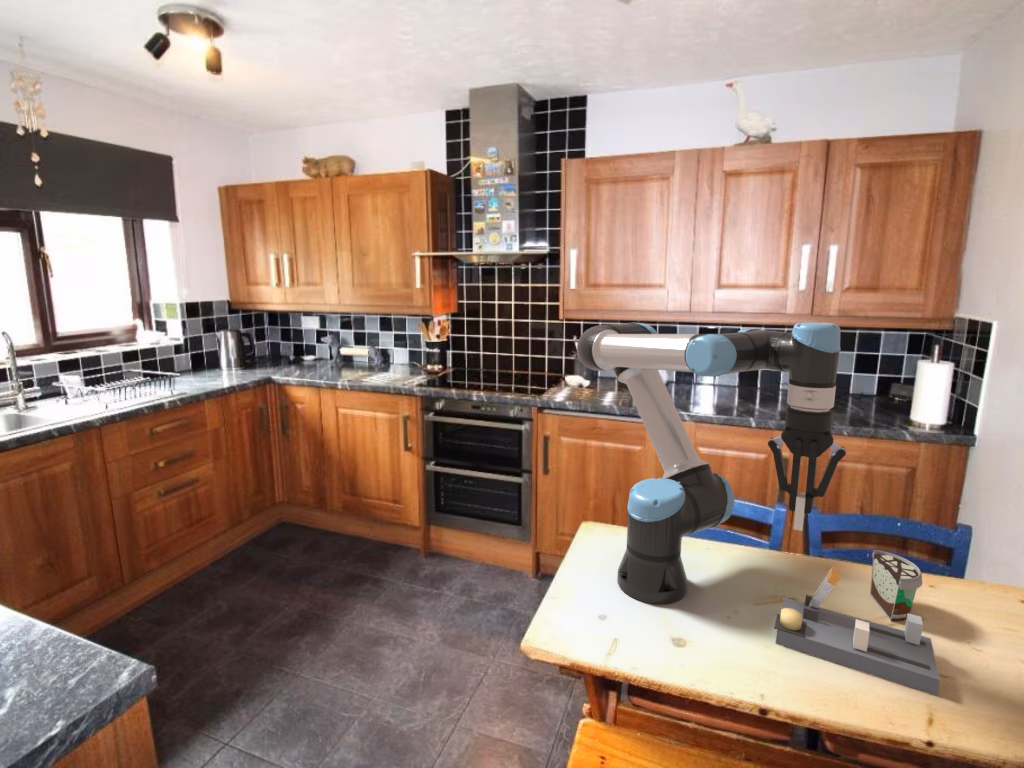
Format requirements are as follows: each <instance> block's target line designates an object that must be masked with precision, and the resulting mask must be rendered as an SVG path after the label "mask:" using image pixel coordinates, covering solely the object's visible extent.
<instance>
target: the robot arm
mask: <svg viewBox="0 0 1024 768" xmlns="http://www.w3.org/2000/svg"><path fill="white" fill-rule="evenodd" d="M576 351H577V356H578V357H577V358H578V359H579V361H580V363H582V365H583V366H585V367H586V368H588V369H589V370H592V371H596V372H604V371H613V372H614V374H615V376H616V378H617V381H618V382H619V383H622V384H624V385H626V386H627V388H628V391H629V394H630V395H631V397H632V400H633V403H634V405H635V407H636V410H637V412H638V414H639V416H640V419H641V422H642V423H643V426H644V428H645V430H646V432H647V435H648V437H649V439H650V441H651V444H652V446H653V449H654V451H655V453H656V455H657V458H658V459H659V462H660V465H661V466H662V469H663V471H664V472H663V475H662V477H658V478H655V477H651V478H646V479H642V480H640V481H639V482H636V483H635V484H634V485H633V486H632V487H631V488H630V490H629V495H628V500H627V501H628V502H627V526H626V527H627V532H626V549H625V552H624V554H623V556H622V559H621V562H620V564H619V567H618V569H617V584H618V587H619V588H620V589H621V591H623V592H624V594H626V595H628V596H629V597H631V598H634V599H636V600H638V601H640V602H644V603H648V604H655V605H656V604H659V605H661V604H662V605H663V604H664V605H665V604H670V603H671V604H672V603H675V602H678V601H680V600H681V599H683V598H684V597H685V596H686V593H687V590H688V577H687V575H686V570H685V567H684V564H683V560H682V555H681V554H682V553H681V552H682V539H683V538H684V537H687V536H689V535H692V534H695V533H698V532H701V531H705V530H707V529H712V528H714V527H717V526H719V524H722V523H724V522H726V521H727V520H728V519H729V518H730V517H731V515H732V514H733V509H734V508H735V503H736V502H735V494H734V490H733V488H732V485H731V484H730V482H729V480H728V479H727V478H726V477H724V476H722V475H721V474H720V473H716V472H713V470H712V467H711V466H710V463H709V462H707V461H704V460H703V459H700V457H699V456H698V453H697V452H696V449H695V447H694V445H693V443H692V440H691V438H690V436H689V434H688V432H687V430H686V428H685V426H684V424H683V421H682V419H681V417H680V415H679V412H678V410H677V408H676V407H675V406H676V405H675V404H674V402H673V400H672V397H671V395H670V393H669V391H668V389H667V386H666V384H665V382H664V380H663V378H662V376H661V373H660V372H659V371H670V372H672V371H673V372H685V373H693V374H695V375H697V376H700V377H720V376H723V375H729V374H734V373H743V372H751V371H760V370H768V371H776V372H777V371H778V372H783V373H789V374H788V385H787V387H788V388H787V398H786V404H788V406H787V407H786V408H785V409H786V410H785V423H784V429H783V430H782V432H781V434H780V435H779V436H777V437H771V438H769V439H768V442H767V446H768V447H769V449H770V451H771V452H772V453H773V459H774V460H773V461H774V465H775V471H776V475H777V482H778V487H779V490H780V491H782V492H786V493H788V494H789V495H788V496H789V497H788V498H789V500H788V510H789V511H791V512H794V518H793V530H795V531H800V532H803V529H804V520H805V514H807V515H810V514H811V513H812V510H813V502H814V498H817V497H818V498H823V497H824V496H825V494H826V492H827V489H828V488H829V485H830V483H831V480H832V478H833V476H834V473H835V471H836V468H837V465H838V463H839V462H840V461H841V460H842V459H843V458H844V457H845V456H846V454H847V453H846V452H847V449H846V447H844V446H840V445H839V444H837V443H836V442H834V437H833V435H832V427H833V418H834V411H833V410H832V408H835V401H836V400H835V399H836V398H835V397H836V391H837V390H836V389H837V385H836V384H837V373H838V366H839V359H840V352H841V328H840V326H839V325H838V324H836V323H831V322H813V321H809V322H807V321H806V322H805V321H803V322H797V323H795V324H794V325H793V328H792V331H790V332H788V331H777V330H775V331H774V330H764V329H761V328H760V329H759V328H751V329H750V328H749V329H747V328H746V329H741V330H738V331H737V332H734V333H733V332H732V333H731V332H730V333H728V332H727V333H702V334H701V333H700V334H699V333H658V332H657V331H656V329H655V328H654V327H652V326H651V325H649V324H647V323H644V322H641V323H640V322H627V323H615V324H614V323H613V324H600V325H599V324H598V325H595V326H591V327H590V328H588V329H586V330H585V331H584V332H583V333H582V335H580V337H579V338H578V342H577V345H576ZM783 443H784V444H785V446H786V448H787V449H788V450H789V452H790V453H792V463H791V464H792V466H791V475H790V477H791V478H790V483H789V482H788V478H787V473H786V468H785V462H784V457H783V451H782V448H783V445H784V444H783ZM829 448H830V449H829ZM828 449H829V455H830V458H829V460H828V463H827V465H826V468H825V470H824V473H823V474H822V477H821V479H820V481H819V484H818V486H817V487H815V477H816V469H817V468H816V467H817V460H818V458H819V457H821V455H823V454H824V453H825V452H827V450H828ZM802 457H807V458H808V463H807V475H806V476H807V477H806V486H805V493H804V492H798V490H799V480H800V473H801V459H802Z"/></svg>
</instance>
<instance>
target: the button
mask: <svg viewBox="0 0 1024 768" xmlns="http://www.w3.org/2000/svg"><path fill="white" fill-rule="evenodd" d="M781 609H782V608H781ZM781 609H780V613H781V616H780V624H781V625H782V626H783V627H785V628H787V629H789V630H795V631H796V630H800V629H801V626H802V617H803V616H802V614H801V613H800V612H798V611H797V610H794V609H791V608H784V609H782V610H781Z"/></svg>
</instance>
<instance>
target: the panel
mask: <svg viewBox="0 0 1024 768" xmlns="http://www.w3.org/2000/svg"><path fill="white" fill-rule="evenodd" d="M812 596H813V595H811V594H808V593H806V594H805V599H804V602H802V601H798V600H797V599H796V600H795V599H791V598H788V597H783V600H782V603H781V604H782V605H781V608H780V611H781V610H782V609H784V608H791V609H794V610H797V611H798V612H800V613H801V614H802V616H803V617H802V626H801V629H800V630H796V631H795V630H789V629H787V628H785V627H783V626H782V625H781V624H780V616H781V612H780V613H777V614H776V618H775V621H774V622H775V623H774V630H776V637H775V644H776V645H778V646H781V647H785V648H787V649H792V650H793V651H798V652H801V653H803V654H807V655H810V656H813V657H816V658H819V659H822V660H825V661H829V662H832V663H835V664H838V665H841V666H844V667H847V668H849V669H853V670H856V671H859V672H862V673H866V674H868V675H871V676H875V677H877V678H881V679H884V680H887V681H890V682H892V683H896V684H900V685H903V686H906V687H909V688H912V689H915V690H918V691H920V692H921V691H922V692H924V693H927V694H930V695H933V696H938V691H939V687H940V680H941V679H940V675H939V670H938V665H937V661H936V656H935V653H934V652H935V651H934V648H933V647H934V646H933V642H932V638H931V637H927V636H924V635H921V639H920V645H917V644H913V643H910V642H906V640H905V634H904V632H905V630H902V629H900V628H899V629H898V628H895V627H893V626H888V625H884V624H881V623H878V622H874V621H870V620H867V619H864V618H861V617H857V616H852V615H849V614H845V613H842V612H838V611H834V610H831V609H827V608H823V607H822V606H820V607H819V608H818V610H815V609H812V608H808V606H809V602H810V599H811V598H812ZM856 619H857V620H861V621H864V622H868V623H869V631H870V632H869V639H868V646H867V652H865V651H862V650H859V649H855V648H853V636H854V628H855V621H856Z"/></svg>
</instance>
